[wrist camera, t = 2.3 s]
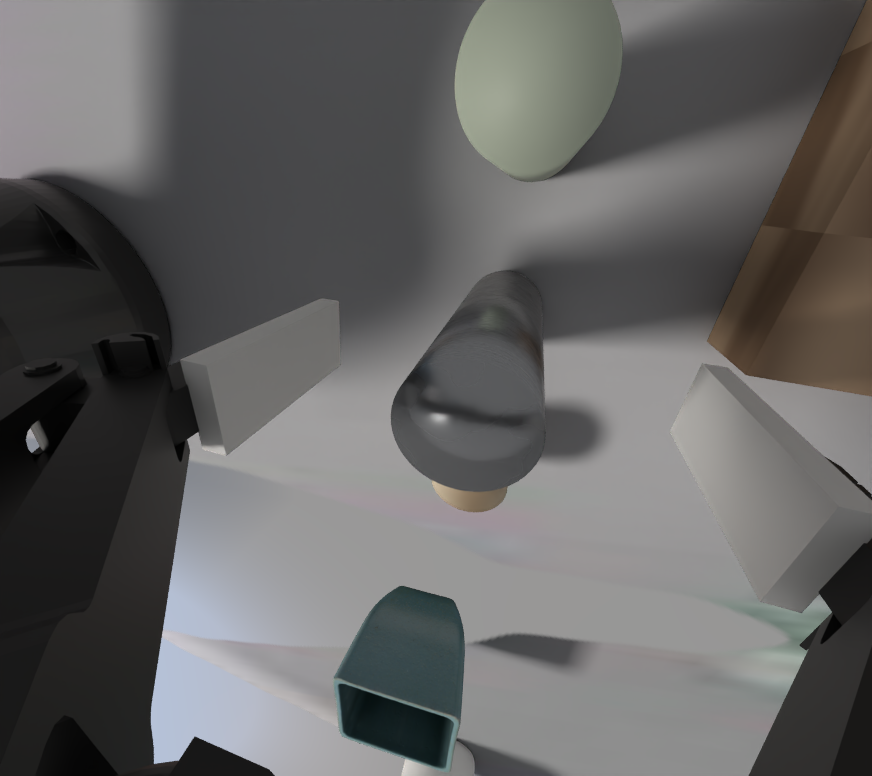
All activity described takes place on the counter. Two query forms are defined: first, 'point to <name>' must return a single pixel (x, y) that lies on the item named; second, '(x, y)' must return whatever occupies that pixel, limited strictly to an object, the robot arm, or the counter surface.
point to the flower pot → (405, 679)
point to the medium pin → (537, 81)
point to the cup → (460, 770)
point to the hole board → (814, 248)
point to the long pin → (478, 391)
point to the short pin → (470, 498)
